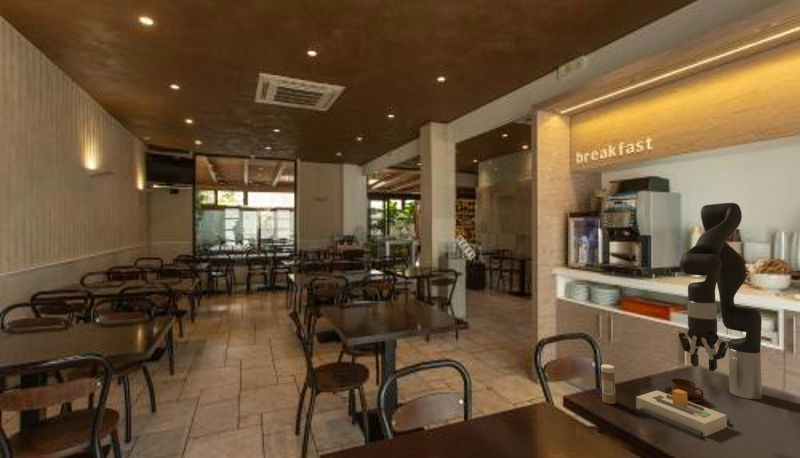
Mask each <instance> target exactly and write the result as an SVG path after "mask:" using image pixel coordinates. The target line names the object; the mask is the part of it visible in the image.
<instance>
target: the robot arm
mask: <svg viewBox="0 0 800 458" xmlns="http://www.w3.org/2000/svg"><path fill="white" fill-rule="evenodd" d="M700 217H701V218H700V219H701V223H702V227H703V230H704V232H703V233H701V234H700V236H699V237H698V238H697V241H696V243H695V244H694V246H693V247H691V248H690V249H688V251H686V252H685V253H684V254H683V255H682V256H681V258H680V261H679V267H680V269H681V271H682V272H683V273H685V274H686V275H688V276H701V277H702V276H704V277H705V279H704V281H698V282H697V281H696V282H691V283H689V284H688V285H687V328H688V330H687V332H685V331H684V332H679V333H678V338H679V340H680V344H681V347H682V349H683V351H684V352H687V353H689V354H690V364H691V366H693V367H699V366H700V365H699V354H698V352H699V349H700V348H703V349H704V350H705V352H706V353H707V355H708V371H710V372H715V371H716V370H717V369H718V360H721V359H724V358H725V357H726V354H727V352H728V372H729V374H728V376H729V378H728V379H729V380H728V382H729V393H731V394H732V395H734V396H737V397H738V398H739V397H740V398H743V399H748V400H760V399H762V398H763V397H762V395H763V391H762V387H763V386H762V362H761V361H762V360H761V359H762V357H761V356H762V355H761V347H762V345H761V344H762V324H763V323H762V322H763V321H762V315H761V313H760V311H759V310H758V309H755V308H752V307H751V308H750V307H742V306H736V305H735V296H736V294H737V293H738V291H739V290H740V288H741V287H742V285H744V283H745V281H746V280H747V270H746V265H745V261H744V260H745V259H744V258H743V257H742V255H740V253H739V252H737V251H736V250H735V249H734V248H733V247H732V246H731V245H730V244H729V243H728V242H727V240H728V239H729V238H730V237H731V236H732V235H733V234H734V233H735V231H736V230H737V228H739V226H740V225H741V221H742V218H743V215H742V210H741V207H740V205H739V204H737V203H736V202H722V203H713V204H705V205H703V206H702V207H701V209H700ZM716 287H717V288H716ZM716 289H717V290H718V296H719V304H720V305H719V306H720V314H721V315H720V316H721V321H722V323H723V327H725V328H726V329H727V330H731V331H736V332H742V333H745V336H743V337H740V338H732V339H729V340H723V339H721V338H720V337H719V335H718V311H717V310H718V309H717V305H716ZM689 339H690V340H691V343H690V340H689ZM715 344H717V346H718V349H717V348H716V345H715Z"/></svg>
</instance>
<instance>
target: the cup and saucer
mask: <svg viewBox="0 0 800 458" xmlns="http://www.w3.org/2000/svg"><path fill="white" fill-rule="evenodd" d="M670 384H671V386H670V387H669V386H668V387H666V388H664V390H663V391H664V393H666V394H669V395H672V396H673V390H676V389H680V390H683V391H685V392H687V401H688V402H691V403H694V404H696V403H699V402H701V401H703V400H704V398H705V397H704V391H703V389H701V388H699V387H696V383H695V382H693V381H692V380H688V379H684V378H672V379H671V383H670ZM698 391H699V392H698Z"/></svg>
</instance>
